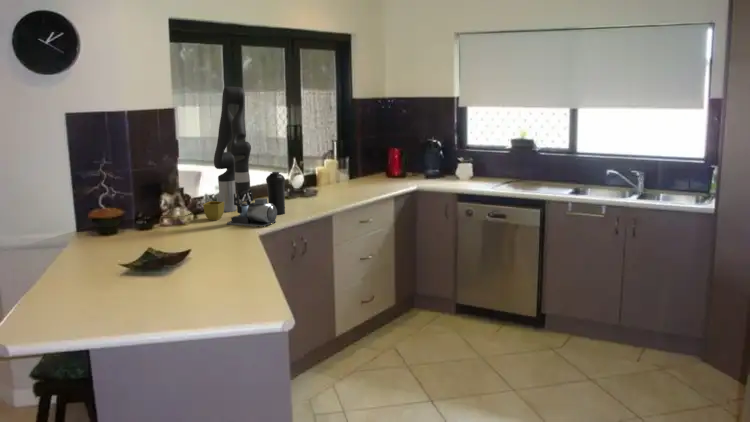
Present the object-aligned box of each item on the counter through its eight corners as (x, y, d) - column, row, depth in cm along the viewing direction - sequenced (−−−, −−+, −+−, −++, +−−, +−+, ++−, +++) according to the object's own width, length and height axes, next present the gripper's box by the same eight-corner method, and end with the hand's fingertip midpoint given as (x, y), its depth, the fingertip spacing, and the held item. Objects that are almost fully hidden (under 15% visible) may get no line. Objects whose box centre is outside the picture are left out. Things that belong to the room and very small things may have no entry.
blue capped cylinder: (238, 221, 364) (237, 204, 362) (243, 219, 368) (242, 202, 367) (246, 222, 362) (245, 204, 360) (251, 220, 367) (250, 202, 365)
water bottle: (288, 211, 392) (286, 171, 387) (284, 215, 382) (282, 173, 377) (270, 211, 393) (268, 171, 388) (265, 215, 383) (263, 173, 378)
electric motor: (227, 224, 363) (225, 199, 360) (240, 219, 373) (238, 195, 371) (267, 227, 353) (266, 201, 351) (279, 222, 364) (278, 197, 361)
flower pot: (219, 221, 371) (217, 204, 369) (203, 220, 373) (202, 204, 371) (225, 217, 379) (224, 201, 378) (210, 217, 381) (209, 201, 379)
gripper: (243, 178, 369) (245, 208, 372) (228, 182, 356) (230, 213, 359) (256, 178, 366) (257, 209, 369) (240, 183, 353) (242, 214, 356)
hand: (244, 211), depth 364 cm, fingers open, 8 cm apart
